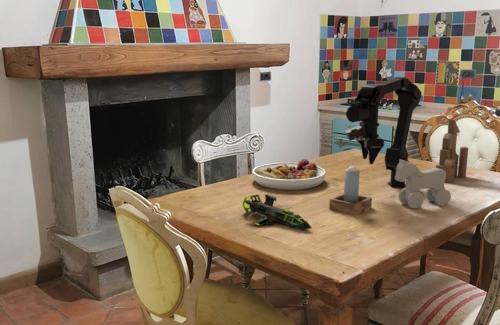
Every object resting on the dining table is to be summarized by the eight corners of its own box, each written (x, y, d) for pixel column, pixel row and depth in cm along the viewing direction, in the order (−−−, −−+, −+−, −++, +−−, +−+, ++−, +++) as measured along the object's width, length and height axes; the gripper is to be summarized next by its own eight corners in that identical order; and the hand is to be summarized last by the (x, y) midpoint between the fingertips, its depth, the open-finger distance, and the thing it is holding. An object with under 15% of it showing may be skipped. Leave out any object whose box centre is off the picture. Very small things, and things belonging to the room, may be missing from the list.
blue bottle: (341, 203, 176) (342, 165, 173) (353, 202, 177) (355, 164, 174) (347, 208, 172) (349, 168, 168) (360, 206, 173) (362, 167, 170)
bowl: (301, 196, 189) (301, 176, 188) (237, 184, 207) (237, 165, 205) (337, 180, 213) (338, 162, 211) (278, 170, 230) (278, 153, 228)
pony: (403, 212, 170) (406, 163, 167) (387, 203, 180) (390, 157, 176) (454, 207, 176) (458, 159, 172) (436, 198, 185) (439, 153, 182)
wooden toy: (450, 183, 206) (455, 122, 200) (434, 180, 211) (439, 120, 205) (467, 176, 216) (472, 118, 211) (451, 174, 221) (456, 117, 215)
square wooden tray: (344, 201, 182) (345, 192, 181) (371, 207, 175) (371, 197, 175) (329, 208, 174) (329, 199, 173) (356, 215, 168) (357, 204, 167)
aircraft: (292, 245, 147) (294, 225, 145) (228, 217, 166) (228, 199, 164) (328, 231, 159) (330, 211, 157) (264, 206, 178) (265, 188, 176)
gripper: (342, 116, 192) (340, 156, 196) (353, 123, 174) (351, 167, 178) (371, 116, 193) (369, 156, 196) (385, 123, 174) (383, 167, 178)
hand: (367, 161), depth 187 cm, fingers open, 9 cm apart
